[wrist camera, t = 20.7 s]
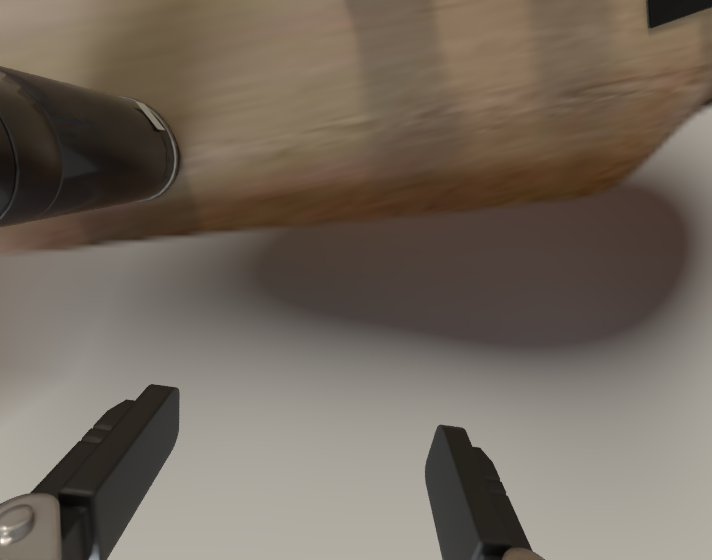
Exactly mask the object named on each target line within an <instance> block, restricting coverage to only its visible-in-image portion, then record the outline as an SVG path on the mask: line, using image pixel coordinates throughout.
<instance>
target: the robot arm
mask: <svg viewBox="0 0 712 560" xmlns="http://www.w3.org/2000/svg"><path fill="white" fill-rule="evenodd" d="M178 166H179V153H178V147H177V143H176V140H175V138H174V135H173V133H172V131H171V129H170V128H169V126H168V125H167V123H166V122H165V120H164V119H163V118H162V117H161V116H160V115H159V114H158V113H157V112H156V111H155V110H153V109H152V108H151V107H149V106H148V105H146V104H144V103H142V102H140V101H138V100H135V99H131V98H127V97H123V96H115V95H111V94H107V93H104V92H100V91H96V90H92V89H88V88H84V87H80V86H76V85H72V84H68V83H64V82H60V81H56V80H52V79H48V78H44V77H41V76H37V75H33V74H29V73H25V72H21V71H17V70H13V69H9V68H5V67H1V66H0V227H5V226H10V225H16V224H21V223H25V222H30V221H35V220H41V219H46V218H51V217H56V216H62V215H67V214H72V213H77V212H83V211H88V210H93V209H98V208H104V207H109V206H114V205H119V204H125V203H130V202H141V201H147V200H151V199H154V198H156V197H158V196H160V195H162V194H163V193H164V192H166V191H167V190H168V189H169V187H170V186H171V185H172V183H173V181H174V180H175V177H176V175H177V171H178ZM178 432H179V389H178V388H175V387H168V386H161V385H154V384H151V385H149V386H148V387H147V388H146V389H145V390H144V391H143V393H142V394H141V395H140V396H139V397H138V398H137V399H136V401H133V400H125V401H124V402H122V403H120V404H118V405H117V406H115V407H113V408H111V409H110V410H108V411H107V412H106V413H105V414H104V415H103V416H102V417H101V418H100V419H99V420H98V421H97V423H96V424H95V425H94V427H93V429H92V428H91V429H90V430H89V431H88V432H87V433H86V434H85V435H84V437H83V438H82V440H81V441H79V442H78V443H77V444H76V445H75V446H74V447H73V448H72V449H71V450H70V452H68V454H67V455H66V456H65V457H64V458H63V459H62V460H61V461H60V462H59V463H58V464H57V465H56V466H55V467H54V469H52V471H51V472H50V473H49V474H48V475H47V476H46V477H45V478H44V479H43V480H42V481H41V482H40V484H38V485H37V487H36V488H35V489H34V490H33V491H32V492H31V493H29V494H24V495H21V496H17V497H14V498H12V499H9V500H7V501H5V502H3V503H1V504H0V560H107V558H108V557H109V555H110V553H111V552H112V550H113V548H114V546H115V545H116V543H117V542H118V540H119V538H120V537H121V535H122V533H123V532H124V530H125V528H126V527H127V525H128V523H129V522H130V520H131V518H132V517H133V515H134V513H135V511H136V510H137V508H138V506H139V505H140V503H141V501H142V500H143V498H144V496H145V495H146V493H147V491H148V490H149V488H150V486H151V485H152V483H153V481H154V480H155V478H156V476H157V475H158V473H159V471H160V470H161V468H162V466H163V465H164V463H165V461H166V460H167V458H168V456H169V455H170V453H171V451H172V450H173V447H174V445H175V442H176V439H177V436H178ZM425 480H426V486H427V490H428V495H429V500H430V504H431V509H432V514H433V518H434V522H435V527H436V532H437V536H438V540H439V545H440V550H441V554H442V558H443V560H545V559H543V558H542V557H541V556H539V555H538V554H536V553H535V552H533V551H532V549H531V547H530V544H529V542H528V540H527V538H526V536H525V534H524V531H523V529H522V527H521V524H520V522H519V520H518V518H517V515H516V513H515V511H514V509H513V507H512V505H511V502H510V500H509V498H508V496H506V491H505V489H504V487H503V484H502V482H500V478H499V476H498V474H497V471H496V469H495V467H494V464H493V462H492V461H491V460H490V459H489V458H488V457H487V455H486V454H485V453H484V452H483V451H482V450H481V448H478V447H472V445H471V442H470V440H469V437H468V435H467V433H466V430H465V429H464V428H460V427H454V426H446V425H439V426H438V427H437V430H436V432H435V435H434V439H433V442H432V445H431V448H430V451H429V454H428V458H427V461H426V466H425Z"/></svg>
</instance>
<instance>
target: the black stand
mask: <svg viewBox="0 0 712 560" xmlns="http://www.w3.org/2000/svg"><path fill="white" fill-rule="evenodd" d="M711 7H712V0H647V16H648V27H649V28H654V27H656V26H659V25H662V24H665V23H668V22H671V21H673V20H676V19H679V18H682V17H685V16H688V15H691V14H693V13H696V12H699V11H702V10H705V9H708V8H711Z"/></svg>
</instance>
